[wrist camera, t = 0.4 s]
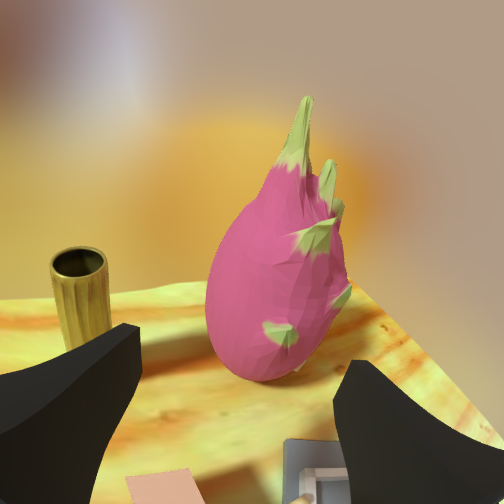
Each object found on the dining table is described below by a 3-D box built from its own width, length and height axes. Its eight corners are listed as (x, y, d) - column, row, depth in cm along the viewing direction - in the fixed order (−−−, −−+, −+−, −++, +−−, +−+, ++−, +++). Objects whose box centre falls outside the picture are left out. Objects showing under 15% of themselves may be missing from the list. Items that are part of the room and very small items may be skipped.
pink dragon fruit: (309, 424, 26) (456, 142, 13) (185, 411, 24) (252, 59, 12) (291, 325, 42) (360, 127, 29) (204, 309, 40) (250, 94, 28)
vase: (125, 354, 29) (119, 247, 23) (118, 395, 23) (101, 287, 17) (79, 346, 27) (61, 239, 21) (66, 385, 22) (32, 275, 16)
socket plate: (417, 548, 9) (440, 541, 8) (278, 577, 9) (293, 580, 7) (398, 442, 24) (415, 427, 22) (283, 442, 23) (295, 428, 22)
